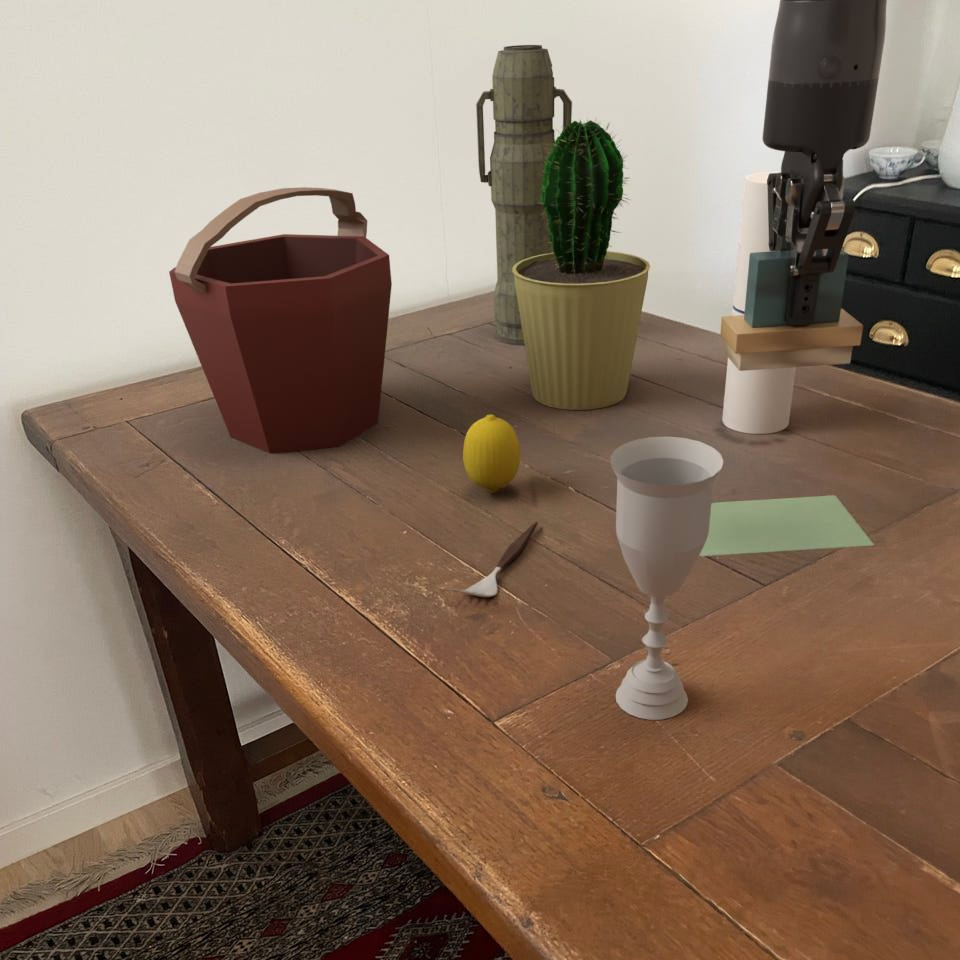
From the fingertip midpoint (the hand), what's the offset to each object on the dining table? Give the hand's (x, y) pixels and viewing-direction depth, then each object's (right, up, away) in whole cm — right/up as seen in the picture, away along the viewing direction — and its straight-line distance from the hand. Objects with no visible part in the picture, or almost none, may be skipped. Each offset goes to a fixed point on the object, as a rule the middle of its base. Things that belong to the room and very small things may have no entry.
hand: (792, 317), depth 82 cm
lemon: (-24, -11, +19) cm, 33 cm away
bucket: (-45, -1, +36) cm, 58 cm away
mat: (+1, -16, +10) cm, 19 cm away
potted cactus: (-13, +4, +41) cm, 43 cm away
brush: (0, -3, +2) cm, 3 cm away
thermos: (-18, +17, +61) cm, 66 cm away
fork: (-23, -20, +7) cm, 31 cm away
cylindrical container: (+5, -2, +31) cm, 32 cm away
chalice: (-13, -30, -10) cm, 34 cm away
